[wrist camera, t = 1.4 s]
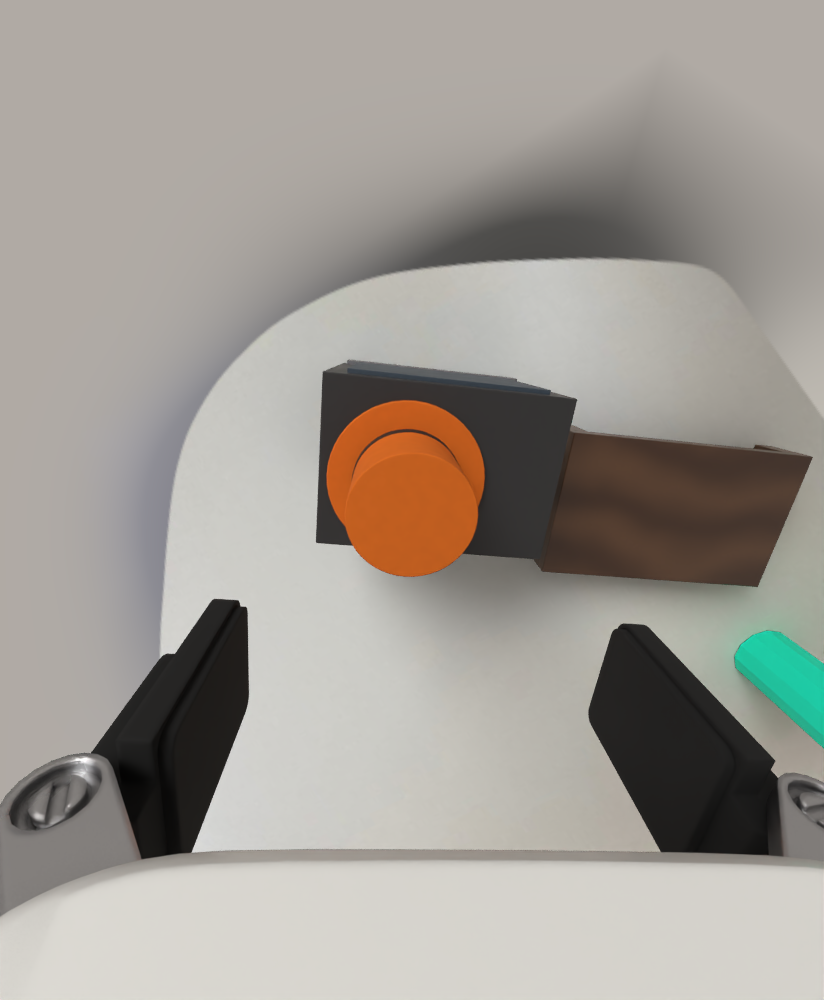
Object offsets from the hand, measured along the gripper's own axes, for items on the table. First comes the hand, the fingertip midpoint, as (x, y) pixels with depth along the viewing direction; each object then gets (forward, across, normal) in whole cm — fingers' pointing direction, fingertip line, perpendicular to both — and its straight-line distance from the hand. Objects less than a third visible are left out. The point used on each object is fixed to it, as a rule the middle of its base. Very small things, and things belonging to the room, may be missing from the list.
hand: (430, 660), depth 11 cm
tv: (+27, -2, -1) cm, 27 cm away
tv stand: (+27, -23, +3) cm, 36 cm away
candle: (+27, -41, +19) cm, 53 cm away
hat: (+15, 0, 0) cm, 15 cm away
